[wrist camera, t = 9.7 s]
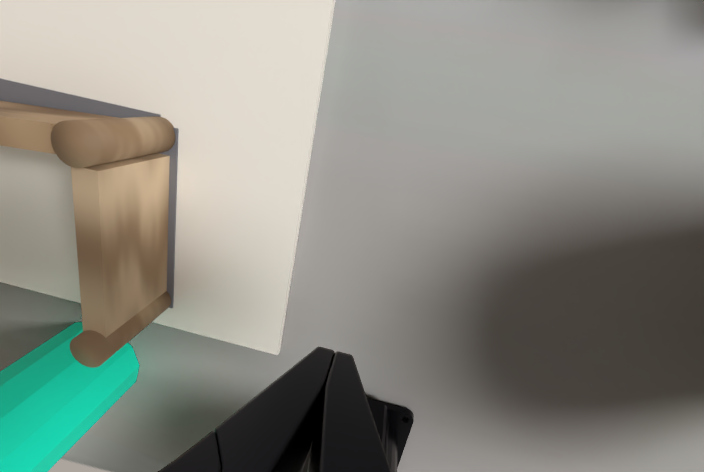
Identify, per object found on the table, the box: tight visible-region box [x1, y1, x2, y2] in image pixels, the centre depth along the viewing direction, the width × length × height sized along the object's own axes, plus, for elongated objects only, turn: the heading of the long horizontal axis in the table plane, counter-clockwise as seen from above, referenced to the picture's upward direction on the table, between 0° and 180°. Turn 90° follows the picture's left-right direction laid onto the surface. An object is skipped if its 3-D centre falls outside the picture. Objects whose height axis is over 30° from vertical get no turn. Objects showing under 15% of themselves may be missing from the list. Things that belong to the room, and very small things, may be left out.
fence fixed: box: [51, 116, 175, 368], centre depth 19 cm, size 12×2×6 cm, turn 169°
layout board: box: [0, 0, 336, 355], centre depth 20 cm, size 25×24×1 cm
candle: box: [0, 322, 140, 472], centre depth 21 cm, size 6×6×12 cm
